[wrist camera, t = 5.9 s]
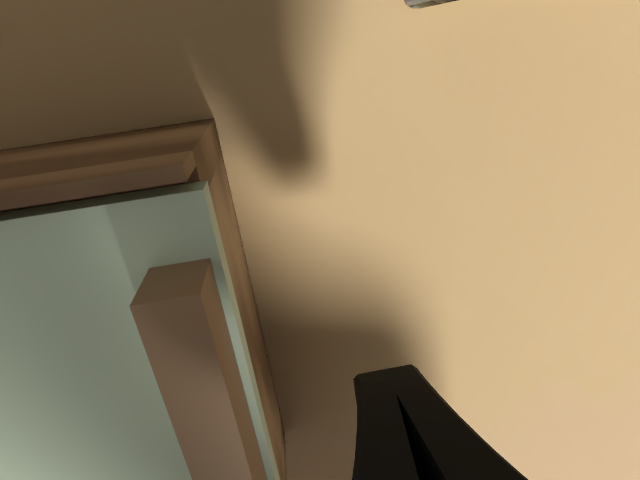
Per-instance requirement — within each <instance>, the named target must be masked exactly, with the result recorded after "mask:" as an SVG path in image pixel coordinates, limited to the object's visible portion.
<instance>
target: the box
mask: <svg viewBox="0 0 640 480" xmlns="http://www.w3.org/2000/svg"><path fill="white" fill-rule="evenodd" d="M206 180H207V181H208V186H209V190H210V194H211V198H212V202H213V206H214V210H215V214H216V218H217V223H218V227H219V231H220V235H221V239H222V243H223V247H224V251H225V255H226V260H227V264H228V268H229V272H230V276H231V280H232V284H233V288H234V293H235V297H236V301H237V305H238V309H239V313H240V317H241V321H242V325H243V330H244V334H245V338H246V342H247V346H248V350H249V354H250V358H251V362H252V367H253V371H254V375H255V379H256V383H257V387H258V391H259V395H260V400H261V404H262V408H263V412H264V416H265V420H266V424H267V428H268V432H269V437H270V441H271V445H272V449H273V453H274V457H275V461H276V465H277V469H278V474H279V478H280V480H287V477H286V455H285V434H284V429H283V425H282V420H281V416H280V411H279V407H278V402H277V398H276V393H275V389H274V384H273V380H272V375H271V371H270V366H269V362H268V357H267V353H266V348H265V344H264V340H263V335H262V331H261V326H260V322H259V317H258V313H257V308H256V304H255V299H254V295H253V290H252V286H251V281H250V277H249V272H248V268H247V263H246V259H245V254H244V250H243V245H242V241H241V236H240V232H239V227H238V223H237V218H236V214H235V209H234V205H233V201H232V196H231V192H230V187H229V183H228V178H227V174H226V169H225V165H224V160H223V156H222V151H221V147H220V142H219V138H218V133H217V129H216V124H215V120H214V119H207V120H201V121H194V122H187V123H180V124H174V125H167V126H160V127H154V128H147V129H140V130H134V131H127V132H120V133H114V134H107V135H100V136H94V137H87V138H80V139H73V140H67V141H60V142H53V143H47V144H40V145H33V146H27V147H20V148H13V149H7V150H0V213H1V212H7V211H14V210H20V209H27V208H33V207H39V206H46V205H52V204H59V203H65V202H72V201H78V200H84V199H91V198H97V197H104V196H110V195H117V194H123V193H129V192H136V191H142V190H149V189H155V188H161V187H168V186H174V185H181V184H187V183H194V182H200V181H206Z"/></svg>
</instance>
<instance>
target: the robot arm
mask: <svg viewBox="0 0 640 480" xmlns="http://www.w3.org/2000/svg"><path fill="white" fill-rule="evenodd" d="M353 380H354V387H355V394H356V401H357V436H356V450H355V462H354V469H353V477H352V480H528V479H527V478H526V477H524V476H523V475H522V474H521V473H520V472H519V471H517V470H516V469H515V468H514V467H513V466H512V465H511V464H510V463H508V462H507V461H506V460H505V459H504V458H503V457H502V456H501V455H499V454H498V453H497V452H496V451H495V450H494V449H493V448H492V447H491V446H490V445H489V444H488V443H486V442H485V441H484V440H483V439H482V438H481V437H480V436H479V435H478V434H477V433H476V432H475V431H474V430H473V429H472V428H471V427H470V426H469V425H468V424H467V423H466V422H465V421H464V420H463V419H462V418H461V417H460V416H459V415H458V414H457V413H456V412H455V411H454V410H453V409H452V408H451V407H450V406H449V405H448V403H447V402H446V401H445V400H444V399H443V398H442V397H441V396H440V395H439V394H438V393H437V391H436V390H435V389H434V388H433V387H432V386H431V385H430V384H429V382H428V381H427V380H426V379H425V378H424V376H423V375H422V374H421V373H420V372H419V370H418V369H417V368H416V367H415V366H413V365H412V364H410V365H405V366H400V367H394V368H389V369H384V370H378V371H373V372H368V373H362V374H358V375H357V376H356V377H355V378H354V379H353Z"/></svg>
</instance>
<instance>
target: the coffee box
mask: <svg viewBox="0 0 640 480" xmlns="http://www.w3.org/2000/svg"><path fill="white" fill-rule="evenodd" d="M404 1H405V3H406V5H408V6H409V7H411V8H424V7H428V6H433V5H438V4H443V3H447V2H452V1H457V0H404Z"/></svg>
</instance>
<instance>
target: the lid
mask: <svg viewBox="0 0 640 480" xmlns="http://www.w3.org/2000/svg"><path fill="white" fill-rule="evenodd" d="M0 480H280V478H279V474H278V469H277V465H276V461H275V457H274V453H273V449H272V445H271V441H270V437H269V432H268V428H267V424H266V420H265V416H264V412H263V408H262V404H261V400H260V395H259V391H258V387H257V383H256V379H255V375H254V371H253V367H252V362H251V358H250V354H249V350H248V346H247V342H246V338H245V334H244V330H243V325H242V321H241V317H240V313H239V309H238V305H237V301H236V297H235V293H234V288H233V284H232V280H231V276H230V272H229V268H228V264H227V260H226V255H225V251H224V247H223V243H222V239H221V235H220V231H219V227H218V223H217V218H216V214H215V210H214V206H213V202H212V198H211V194H210V190H209V186H208V181H207V180H206V181H200V182H194V183H187V184H181V185H174V186H168V187H161V188H155V189H149V190H142V191H136V192H129V193H123V194H117V195H110V196H104V197H97V198H91V199H84V200H78V201H72V202H65V203H59V204H52V205H46V206H39V207H33V208H27V209H20V210H14V211H7V212H1V213H0Z"/></svg>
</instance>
